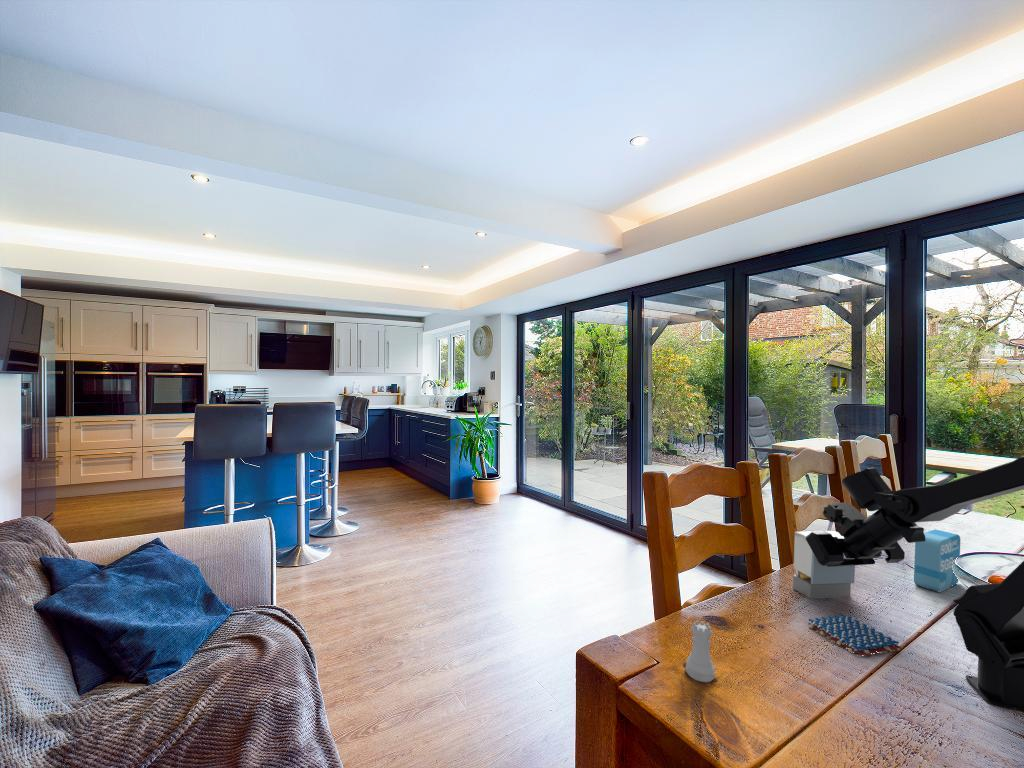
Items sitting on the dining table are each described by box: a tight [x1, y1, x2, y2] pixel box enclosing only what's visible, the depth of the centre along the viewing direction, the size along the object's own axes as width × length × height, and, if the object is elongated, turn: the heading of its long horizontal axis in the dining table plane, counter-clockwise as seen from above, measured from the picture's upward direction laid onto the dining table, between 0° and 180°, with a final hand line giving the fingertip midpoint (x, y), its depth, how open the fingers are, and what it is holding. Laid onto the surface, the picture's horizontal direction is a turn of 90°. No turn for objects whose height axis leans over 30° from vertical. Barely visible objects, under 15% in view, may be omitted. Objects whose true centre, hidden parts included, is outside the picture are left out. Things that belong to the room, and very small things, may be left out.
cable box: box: [792, 530, 852, 600], centre depth 103 cm, size 5×10×13 cm, turn 99°
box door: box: [811, 551, 856, 584], centre depth 100 cm, size 1×10×9 cm, turn 97°
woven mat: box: [807, 613, 902, 657], centre depth 85 cm, size 10×11×2 cm
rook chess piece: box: [685, 620, 716, 683], centre depth 73 cm, size 4×4×8 cm
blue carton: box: [913, 528, 961, 593], centre depth 109 cm, size 12×4×12 cm, turn 119°
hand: (829, 564), depth 100 cm, fingers closed, pressing on box door
